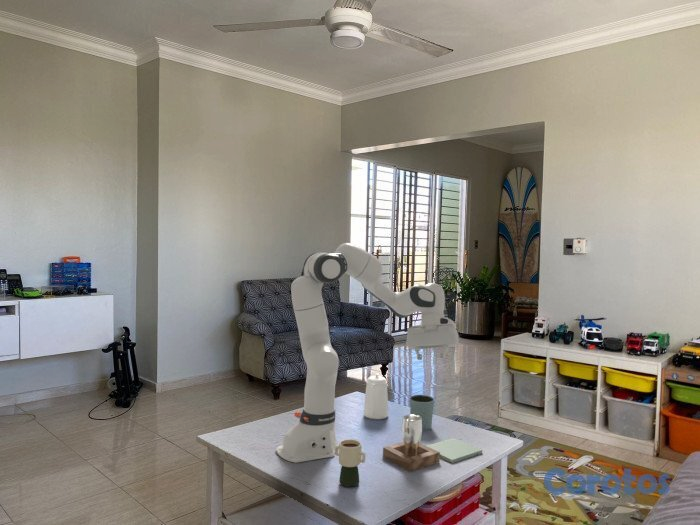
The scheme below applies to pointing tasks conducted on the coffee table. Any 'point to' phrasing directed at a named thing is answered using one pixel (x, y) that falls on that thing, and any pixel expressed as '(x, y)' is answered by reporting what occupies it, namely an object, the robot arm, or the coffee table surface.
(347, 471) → the character mug
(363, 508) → the coffee table surface
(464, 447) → the sage board
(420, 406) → the green plant pot
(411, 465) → the walnut holder
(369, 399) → the coffeepot
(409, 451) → the silver metal tumbler
